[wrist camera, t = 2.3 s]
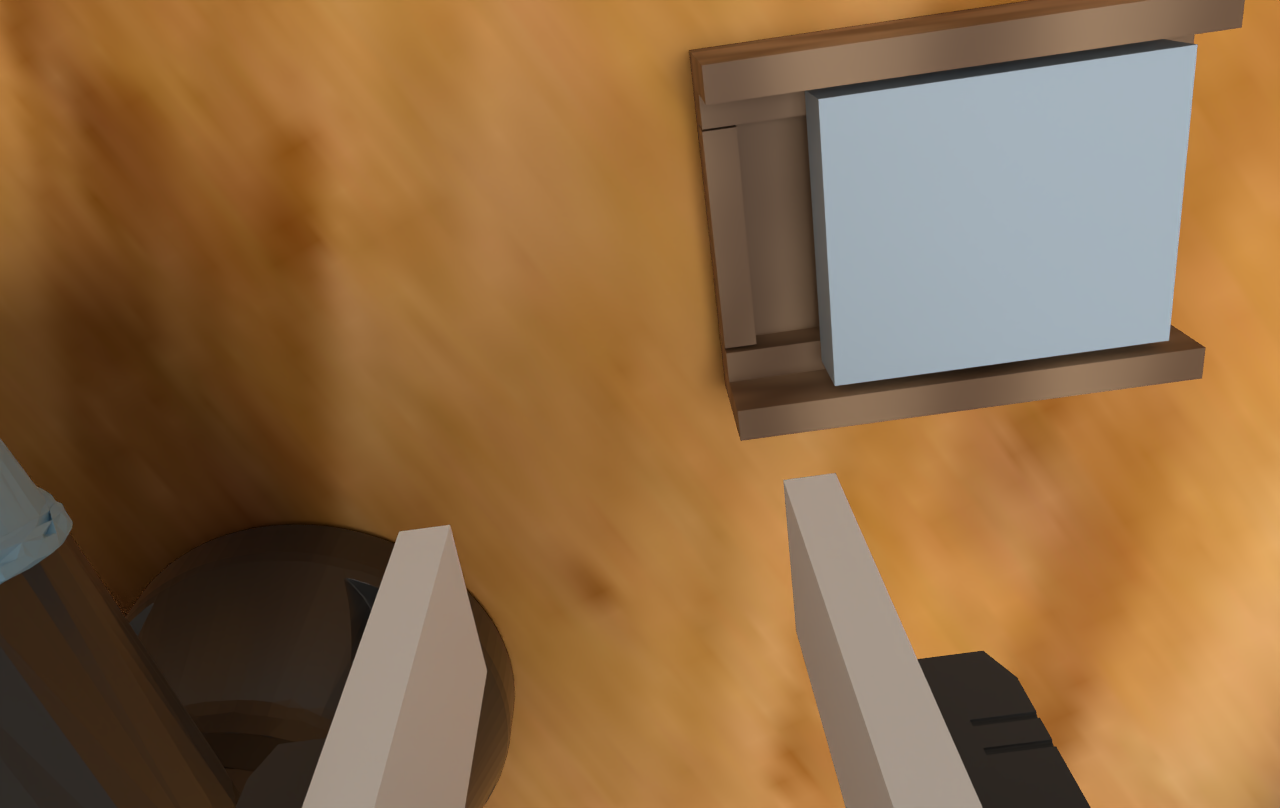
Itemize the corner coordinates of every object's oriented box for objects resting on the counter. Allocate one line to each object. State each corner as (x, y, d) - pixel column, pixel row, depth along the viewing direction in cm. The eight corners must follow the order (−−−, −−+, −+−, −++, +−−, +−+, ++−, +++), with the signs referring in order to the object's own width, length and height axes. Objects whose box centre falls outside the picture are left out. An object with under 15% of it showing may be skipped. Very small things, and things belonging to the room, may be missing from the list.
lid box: (725, 385, 34) (740, 440, 30) (689, 50, 29) (701, 65, 26) (1134, 329, 34) (1201, 378, 30) (1162, -20, 29) (1246, -14, 25)
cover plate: (821, 361, 32) (834, 386, 30) (804, 89, 28) (818, 99, 26) (1136, 317, 31) (1169, 340, 30) (1158, 38, 28) (1197, 44, 26)
